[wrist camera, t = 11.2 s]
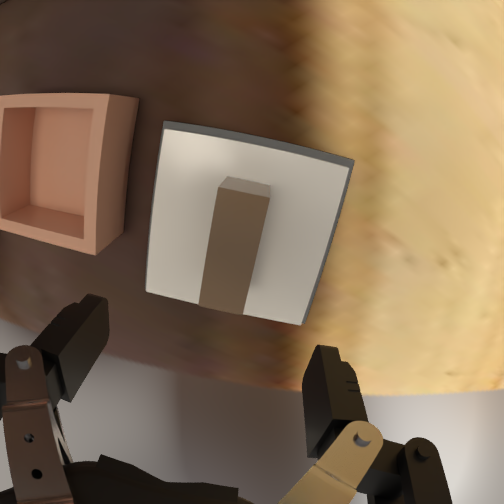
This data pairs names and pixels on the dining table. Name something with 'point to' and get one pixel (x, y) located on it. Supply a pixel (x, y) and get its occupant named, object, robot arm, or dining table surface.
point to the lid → (240, 225)
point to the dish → (65, 167)
